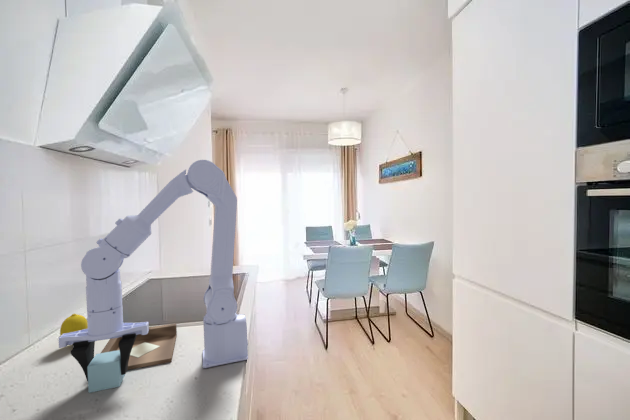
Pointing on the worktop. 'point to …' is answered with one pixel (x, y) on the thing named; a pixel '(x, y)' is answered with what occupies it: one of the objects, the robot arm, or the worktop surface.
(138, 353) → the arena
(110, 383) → the cube
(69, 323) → the lemon
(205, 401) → the worktop surface
